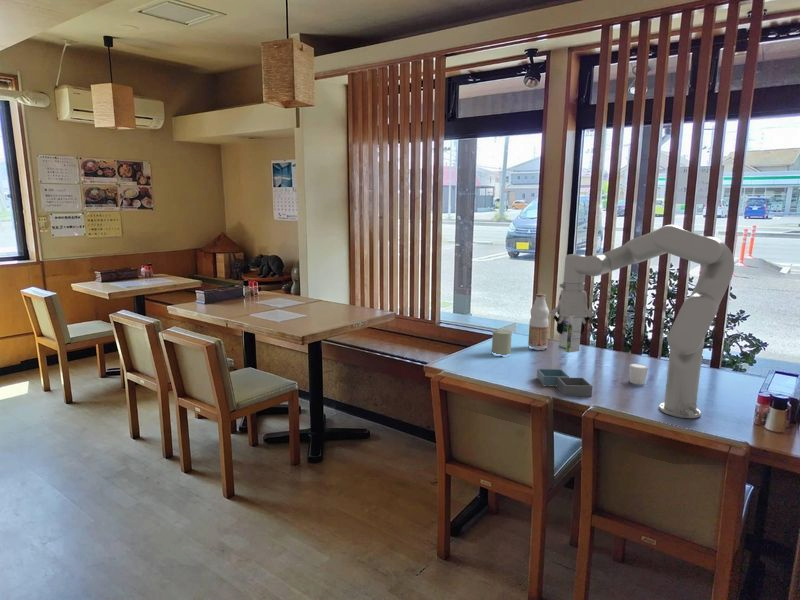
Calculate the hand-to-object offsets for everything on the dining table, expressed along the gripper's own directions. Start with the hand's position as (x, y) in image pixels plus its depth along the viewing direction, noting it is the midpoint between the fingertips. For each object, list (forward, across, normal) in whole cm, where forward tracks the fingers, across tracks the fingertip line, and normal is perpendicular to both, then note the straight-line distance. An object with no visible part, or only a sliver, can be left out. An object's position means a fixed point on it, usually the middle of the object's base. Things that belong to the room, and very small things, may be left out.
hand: (570, 332), depth 193 cm
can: (+23, -15, +48) cm, 56 cm away
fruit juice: (+23, +6, +61) cm, 65 cm away
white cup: (+22, +32, +9) cm, 40 cm away
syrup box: (+7, 0, 0) cm, 7 cm away
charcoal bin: (+22, +2, -4) cm, 22 cm away
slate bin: (+22, -3, +7) cm, 24 cm away
